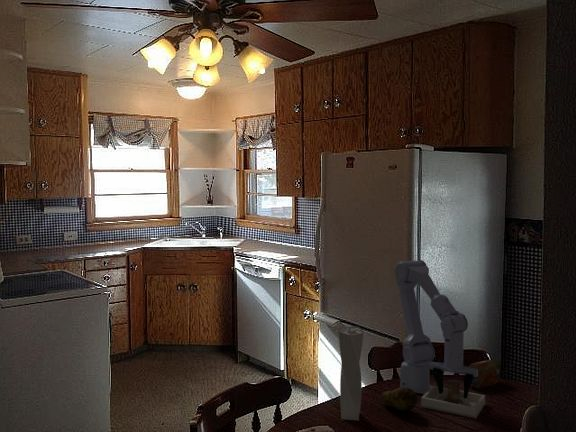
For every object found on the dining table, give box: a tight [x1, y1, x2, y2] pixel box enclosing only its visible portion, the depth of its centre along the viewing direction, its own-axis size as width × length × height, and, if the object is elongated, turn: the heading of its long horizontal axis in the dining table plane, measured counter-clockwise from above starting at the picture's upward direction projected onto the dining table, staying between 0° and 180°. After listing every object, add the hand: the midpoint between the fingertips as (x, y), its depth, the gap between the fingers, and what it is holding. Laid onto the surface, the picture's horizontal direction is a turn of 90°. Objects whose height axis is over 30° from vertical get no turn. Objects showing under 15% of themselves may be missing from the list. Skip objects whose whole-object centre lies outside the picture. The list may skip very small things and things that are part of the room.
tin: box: [468, 359, 502, 389], centre depth 187 cm, size 15×3×8 cm, turn 118°
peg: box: [447, 379, 461, 404], centre depth 168 cm, size 4×4×7 cm
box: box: [420, 385, 486, 420], centre depth 168 cm, size 17×13×3 cm
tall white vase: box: [338, 325, 364, 422], centre depth 160 cm, size 8×8×28 cm
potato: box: [381, 387, 419, 411], centre depth 164 cm, size 8×13×8 cm, turn 13°
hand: (453, 395), depth 168 cm, fingers open, 7 cm apart
